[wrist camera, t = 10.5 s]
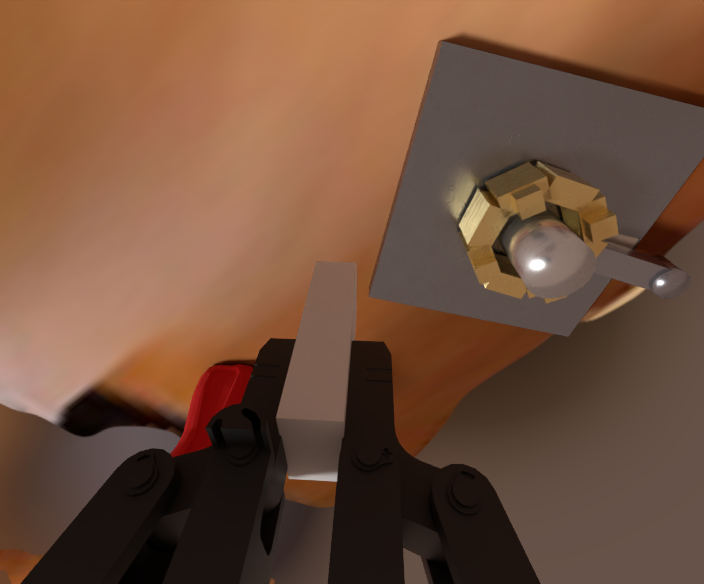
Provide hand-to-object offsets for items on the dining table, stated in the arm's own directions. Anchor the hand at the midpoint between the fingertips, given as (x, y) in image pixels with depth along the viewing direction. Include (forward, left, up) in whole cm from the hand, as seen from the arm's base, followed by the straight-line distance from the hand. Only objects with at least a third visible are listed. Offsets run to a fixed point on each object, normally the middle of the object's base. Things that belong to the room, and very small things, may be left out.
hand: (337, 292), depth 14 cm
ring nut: (+3, +21, -21) cm, 30 cm away
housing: (+3, +16, -23) cm, 29 cm away
